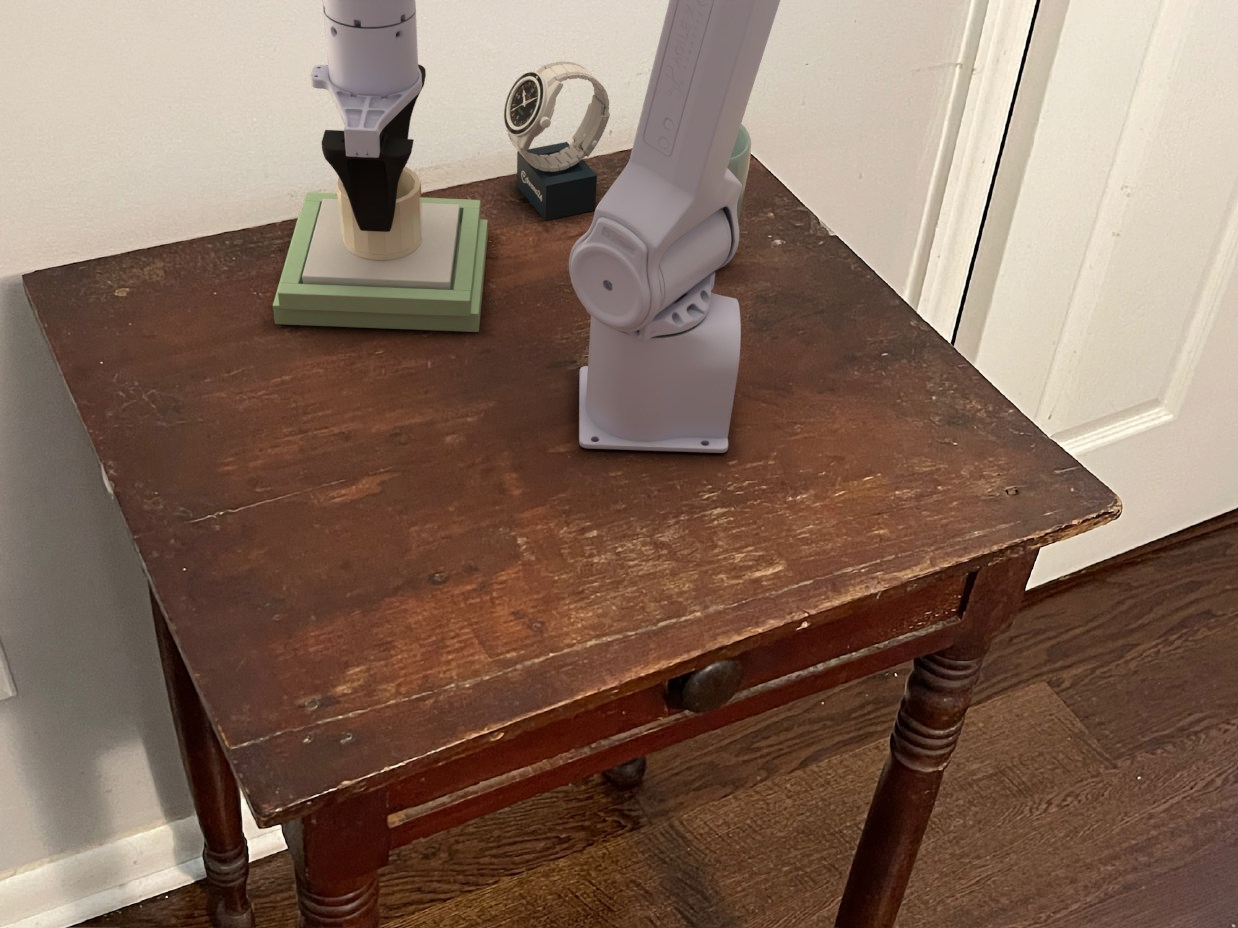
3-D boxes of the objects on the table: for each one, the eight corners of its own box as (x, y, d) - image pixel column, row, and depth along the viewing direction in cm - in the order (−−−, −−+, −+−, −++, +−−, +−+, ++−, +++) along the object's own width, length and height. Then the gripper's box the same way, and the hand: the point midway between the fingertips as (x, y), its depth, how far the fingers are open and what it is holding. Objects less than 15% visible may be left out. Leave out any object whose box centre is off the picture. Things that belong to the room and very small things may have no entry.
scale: (488, 234, 103) (487, 200, 101) (478, 336, 94) (478, 301, 92) (302, 226, 103) (298, 191, 100) (273, 328, 93) (269, 292, 91)
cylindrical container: (425, 219, 98) (423, 164, 95) (418, 262, 94) (416, 206, 91) (347, 215, 98) (343, 160, 95) (337, 259, 94) (332, 202, 91)
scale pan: (460, 222, 101) (459, 204, 100) (450, 300, 93) (449, 282, 92) (324, 216, 100) (322, 197, 99) (304, 294, 93) (301, 275, 92)
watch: (494, 190, 108) (494, 61, 101) (585, 172, 111) (591, 45, 104) (522, 226, 104) (524, 95, 97) (615, 206, 107) (624, 77, 100)
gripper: (321, -41, 90) (337, 143, 99) (286, 58, 79) (307, 254, 88) (428, -35, 90) (434, 147, 99) (407, 64, 79) (416, 259, 88)
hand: (381, 198), depth 94 cm, fingers open, 7 cm apart
